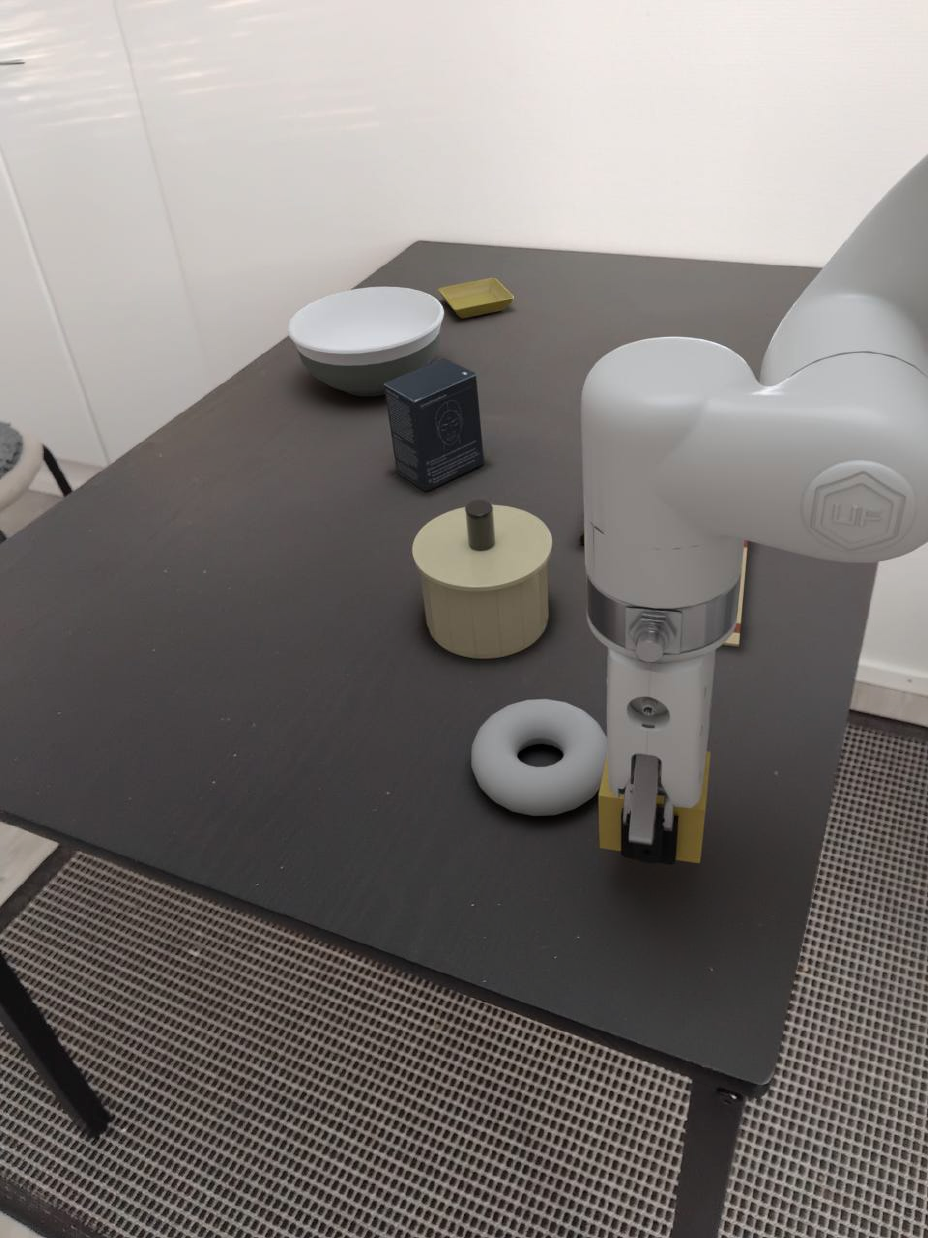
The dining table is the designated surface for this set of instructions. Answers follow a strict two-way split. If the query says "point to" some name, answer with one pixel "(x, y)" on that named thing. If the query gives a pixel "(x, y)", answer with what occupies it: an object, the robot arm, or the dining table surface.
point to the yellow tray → (477, 297)
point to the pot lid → (482, 547)
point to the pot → (487, 617)
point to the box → (435, 423)
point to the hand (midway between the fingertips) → (653, 820)
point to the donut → (539, 785)
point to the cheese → (687, 817)
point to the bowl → (367, 336)
